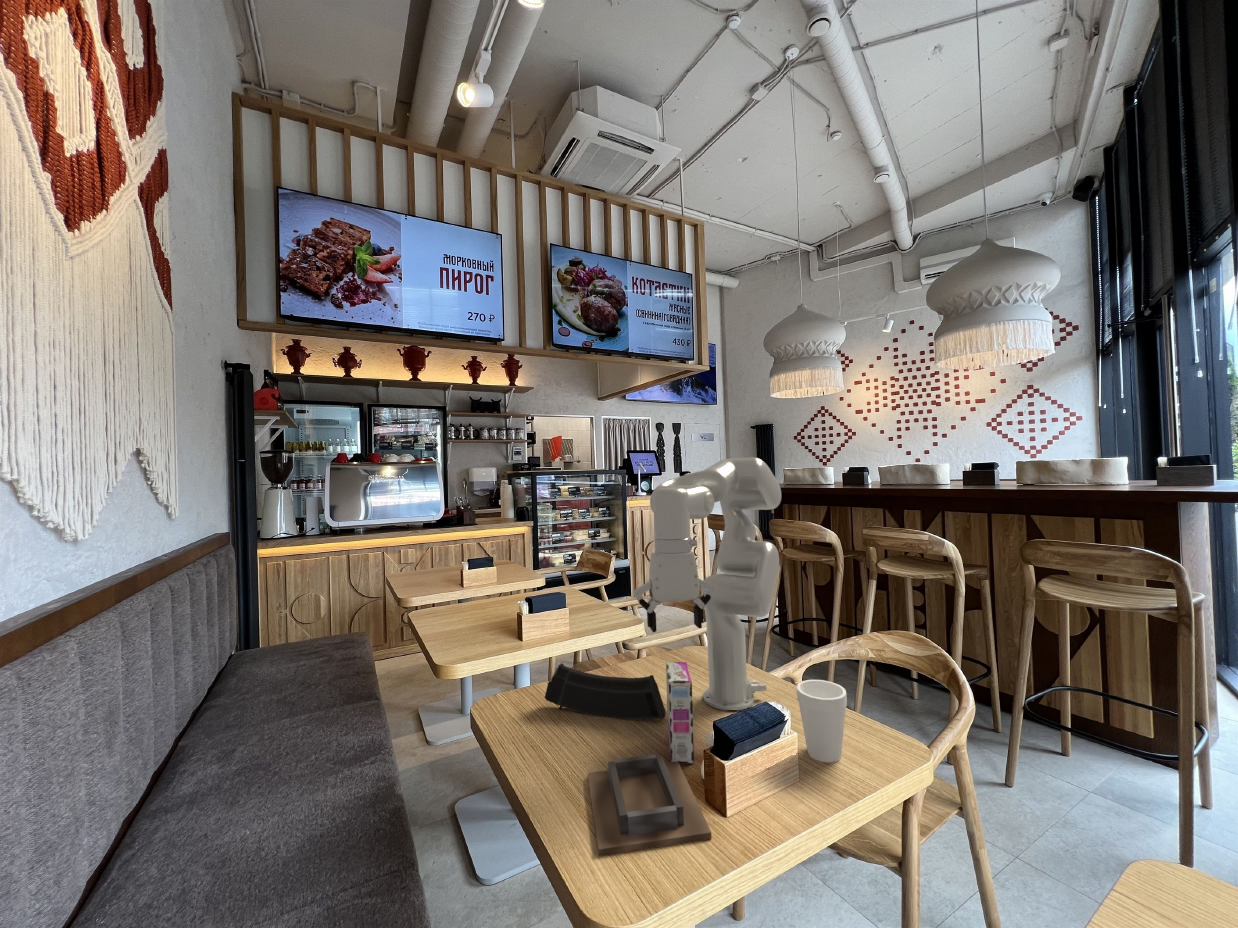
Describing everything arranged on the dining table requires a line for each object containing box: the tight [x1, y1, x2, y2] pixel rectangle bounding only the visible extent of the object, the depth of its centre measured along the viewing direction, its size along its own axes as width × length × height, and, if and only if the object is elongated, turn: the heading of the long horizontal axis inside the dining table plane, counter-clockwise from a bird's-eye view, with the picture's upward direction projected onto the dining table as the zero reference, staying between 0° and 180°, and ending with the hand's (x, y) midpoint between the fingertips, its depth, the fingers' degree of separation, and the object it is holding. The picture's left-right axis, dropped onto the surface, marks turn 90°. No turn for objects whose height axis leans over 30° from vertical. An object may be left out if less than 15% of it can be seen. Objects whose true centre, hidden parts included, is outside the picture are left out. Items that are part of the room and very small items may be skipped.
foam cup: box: [796, 679, 848, 763], centre depth 102 cm, size 10×9×13 cm
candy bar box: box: [665, 661, 695, 765], centre depth 106 cm, size 11×5×16 cm, turn 178°
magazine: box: [544, 663, 667, 721], centre depth 122 cm, size 17×3×30 cm
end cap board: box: [587, 753, 713, 857], centre depth 88 cm, size 18×20×4 cm
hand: (675, 628), depth 105 cm, fingers open, 9 cm apart
